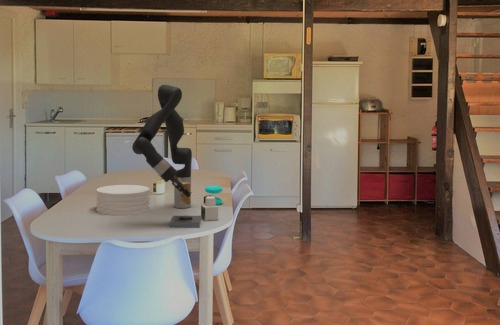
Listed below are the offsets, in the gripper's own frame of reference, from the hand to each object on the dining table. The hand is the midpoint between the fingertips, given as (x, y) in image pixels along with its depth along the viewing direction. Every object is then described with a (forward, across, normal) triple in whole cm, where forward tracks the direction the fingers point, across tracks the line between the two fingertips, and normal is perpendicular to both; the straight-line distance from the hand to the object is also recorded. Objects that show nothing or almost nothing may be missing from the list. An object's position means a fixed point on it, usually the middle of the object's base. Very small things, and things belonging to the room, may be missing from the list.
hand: (189, 195), depth 271 cm
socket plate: (+9, 0, +12) cm, 14 cm away
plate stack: (-16, +32, +37) cm, 52 cm away
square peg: (+2, 0, +4) cm, 5 cm away
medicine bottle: (+17, +11, +4) cm, 21 cm away
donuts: (+18, +50, +2) cm, 54 cm away
